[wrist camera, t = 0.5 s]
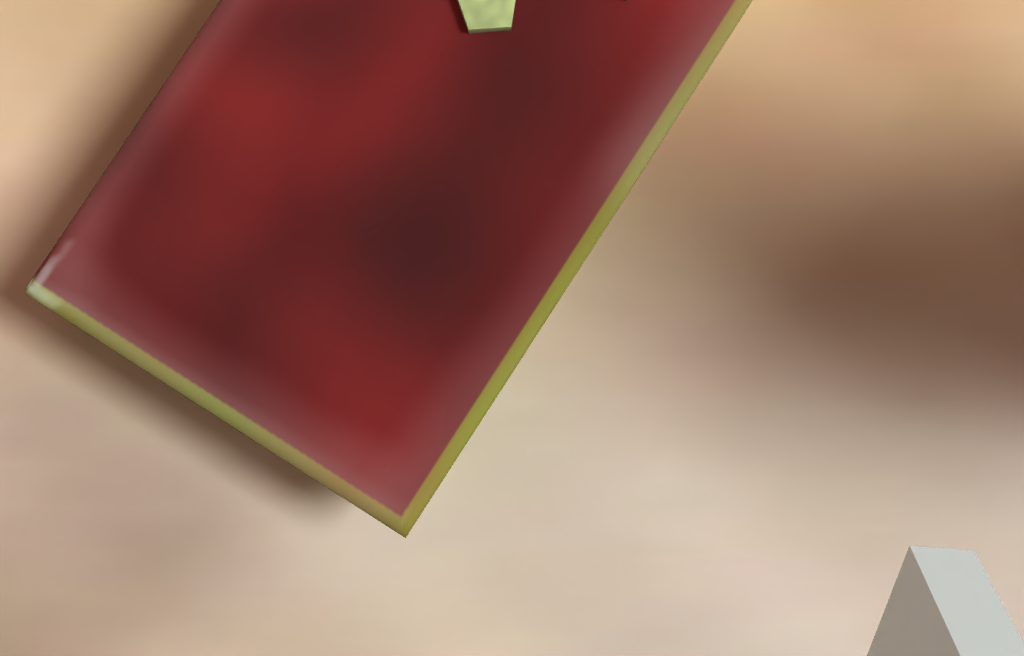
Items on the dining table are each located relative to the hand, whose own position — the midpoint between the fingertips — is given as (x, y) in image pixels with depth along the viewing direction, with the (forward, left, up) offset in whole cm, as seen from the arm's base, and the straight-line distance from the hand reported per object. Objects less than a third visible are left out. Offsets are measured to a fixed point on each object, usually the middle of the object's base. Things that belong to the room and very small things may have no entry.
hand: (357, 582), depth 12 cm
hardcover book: (+10, +2, -17) cm, 20 cm away
